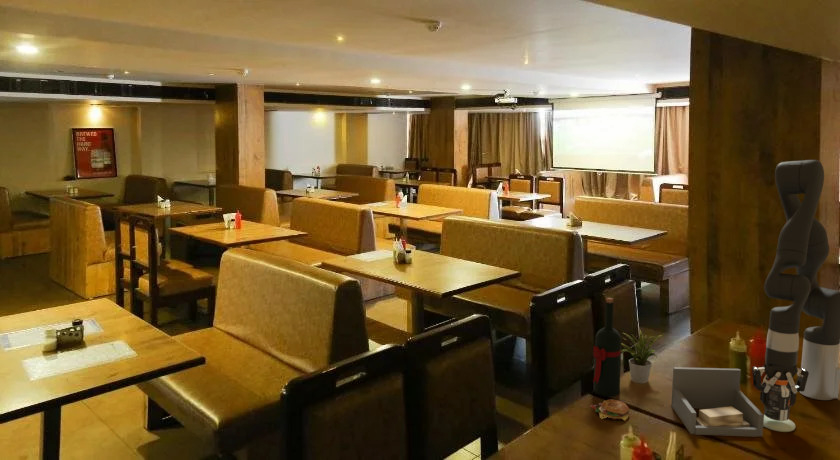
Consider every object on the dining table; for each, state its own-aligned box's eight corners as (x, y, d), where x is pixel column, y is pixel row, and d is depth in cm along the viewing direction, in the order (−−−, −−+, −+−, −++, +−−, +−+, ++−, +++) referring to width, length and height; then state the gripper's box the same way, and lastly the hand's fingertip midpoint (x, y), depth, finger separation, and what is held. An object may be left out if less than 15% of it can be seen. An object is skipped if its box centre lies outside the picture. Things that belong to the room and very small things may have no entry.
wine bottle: (583, 392, 193) (586, 299, 189) (603, 384, 200) (606, 293, 195) (605, 401, 187) (608, 304, 183) (624, 391, 194) (628, 298, 189)
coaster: (785, 417, 175) (785, 415, 175) (801, 432, 167) (801, 430, 167) (752, 416, 176) (752, 414, 176) (766, 431, 168) (766, 429, 167)
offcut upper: (731, 414, 173) (731, 406, 173) (742, 422, 169) (743, 413, 168) (698, 418, 171) (699, 409, 171) (709, 425, 167) (709, 417, 167)
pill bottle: (792, 422, 168) (795, 382, 166) (768, 420, 169) (771, 381, 167) (784, 412, 174) (787, 374, 172) (761, 411, 175) (764, 372, 173)
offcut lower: (738, 424, 173) (739, 415, 172) (749, 433, 168) (749, 424, 168) (693, 426, 172) (693, 417, 172) (702, 434, 167) (702, 426, 167)
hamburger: (628, 405, 186) (629, 386, 185) (636, 426, 172) (637, 406, 171) (580, 402, 188) (580, 383, 187) (584, 423, 174) (585, 403, 173)
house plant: (645, 368, 212) (647, 322, 210) (674, 383, 199) (676, 335, 197) (610, 374, 208) (611, 327, 205) (636, 390, 195) (639, 340, 192)
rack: (736, 407, 182) (739, 368, 180) (762, 436, 165) (766, 394, 163) (671, 405, 184) (673, 367, 182) (690, 434, 166) (693, 392, 164)
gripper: (803, 342, 171) (798, 399, 174) (748, 340, 172) (744, 397, 175) (817, 351, 164) (812, 411, 166) (760, 350, 165) (755, 409, 168)
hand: (777, 404), depth 171 cm, fingers closed on pill bottle, 6 cm apart
